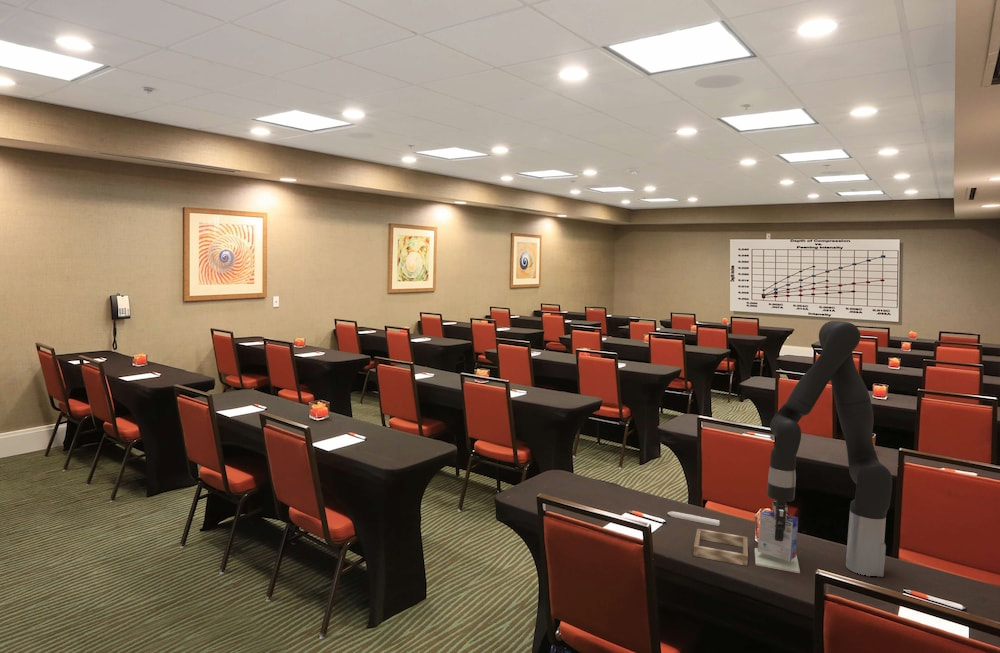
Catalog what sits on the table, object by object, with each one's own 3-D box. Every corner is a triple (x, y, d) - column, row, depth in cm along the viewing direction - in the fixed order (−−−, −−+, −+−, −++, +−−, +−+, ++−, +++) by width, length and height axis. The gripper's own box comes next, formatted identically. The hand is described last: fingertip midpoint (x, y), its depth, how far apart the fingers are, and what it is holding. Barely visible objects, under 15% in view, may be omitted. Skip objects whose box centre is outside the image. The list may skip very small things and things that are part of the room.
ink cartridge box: (796, 556, 184) (799, 509, 183) (791, 562, 180) (794, 514, 179) (763, 546, 191) (765, 501, 190) (756, 552, 186) (759, 505, 185)
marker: (666, 516, 219) (666, 510, 219) (667, 515, 221) (668, 508, 221) (718, 527, 211) (719, 520, 211) (719, 525, 213) (720, 518, 213)
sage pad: (796, 556, 189) (796, 555, 189) (799, 573, 178) (800, 571, 178) (754, 549, 193) (754, 547, 193) (755, 565, 182) (755, 563, 182)
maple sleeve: (746, 546, 196) (747, 537, 195) (747, 565, 181) (747, 556, 181) (696, 537, 201) (697, 528, 201) (693, 555, 187) (693, 546, 187)
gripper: (797, 491, 176) (793, 547, 177) (793, 477, 189) (789, 529, 190) (769, 487, 178) (765, 542, 180) (767, 474, 192) (763, 525, 193)
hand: (778, 536), depth 185 cm, fingers closed on ink cartridge box, 6 cm apart
